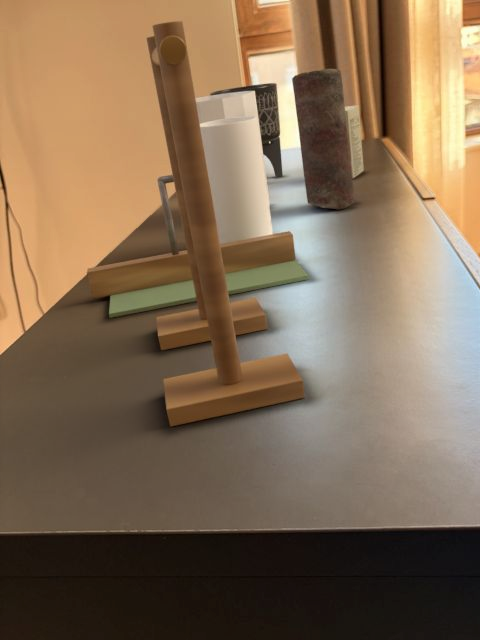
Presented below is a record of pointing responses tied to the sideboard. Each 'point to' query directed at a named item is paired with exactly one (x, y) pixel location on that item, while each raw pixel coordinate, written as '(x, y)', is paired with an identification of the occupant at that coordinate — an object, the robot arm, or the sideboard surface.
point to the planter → (266, 120)
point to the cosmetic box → (354, 139)
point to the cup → (237, 178)
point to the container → (228, 109)
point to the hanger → (186, 259)
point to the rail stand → (206, 266)
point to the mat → (186, 291)
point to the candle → (324, 138)
